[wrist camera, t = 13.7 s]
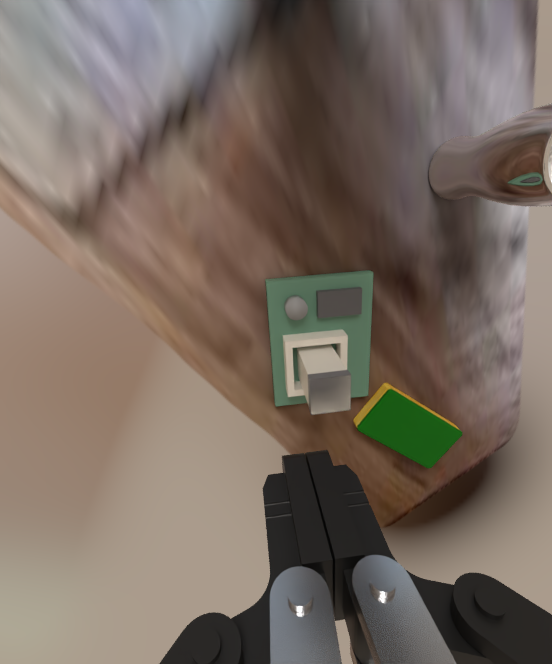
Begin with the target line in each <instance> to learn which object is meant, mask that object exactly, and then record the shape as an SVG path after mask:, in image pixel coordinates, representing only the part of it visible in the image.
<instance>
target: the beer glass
mask: <svg viewBox="0 0 552 664" xmlns="http://www.w3.org/2000/svg"><path fill="white" fill-rule="evenodd" d="M429 181H430V185H431V187H432V189H433V191H434V192H435V193H436V194H437V195H438V196H440V197H441V198H444V199H447V200H457V199H462V198H465V197H468V196H477V197H481V198H484V199H487V200H490V201H494V202H497V203H502V204H507V205H513V206H552V104H548V105H544V106H540V107H537V108H534V109H531V110H529V111H526V112H523V113H521V114H519V115H517V116H514V117H512V118H510V119H508V120H506V121H504V122H502V123H501V124H499V125H497V126H495V127H493V128H492V129H490V130H488V131H486V132H485V133H483V134H481V135H479V136H459V137H455V138H452V139H450V140H448V141H446V142H445V143H444V144H442V145H441V146H440V147H439V148H438V150H437V151H436V152H435V154H434V156H433V158H432V160H431V163H430V167H429Z"/></svg>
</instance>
